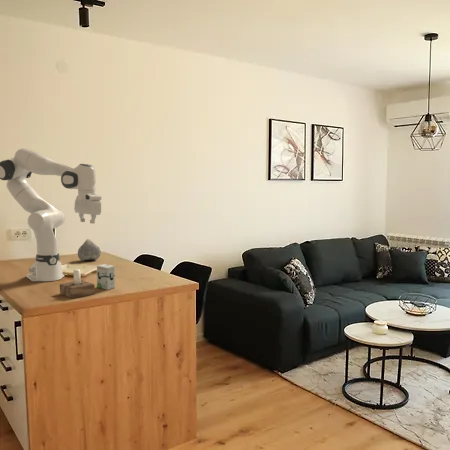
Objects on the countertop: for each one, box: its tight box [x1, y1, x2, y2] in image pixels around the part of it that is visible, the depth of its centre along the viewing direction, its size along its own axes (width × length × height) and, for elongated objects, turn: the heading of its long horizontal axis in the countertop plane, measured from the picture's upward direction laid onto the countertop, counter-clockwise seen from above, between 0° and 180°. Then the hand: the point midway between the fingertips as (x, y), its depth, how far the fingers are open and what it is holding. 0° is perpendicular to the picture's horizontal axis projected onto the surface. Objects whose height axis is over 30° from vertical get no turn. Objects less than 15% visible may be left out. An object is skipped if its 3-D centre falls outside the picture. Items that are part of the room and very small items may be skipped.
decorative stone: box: [77, 238, 102, 262], centre depth 312 cm, size 15×10×15 cm
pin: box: [73, 268, 82, 286], centre depth 227 cm, size 3×3×10 cm
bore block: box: [59, 279, 96, 299], centre depth 228 cm, size 12×12×5 cm
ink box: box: [96, 263, 116, 291], centre depth 240 cm, size 9×5×12 cm, turn 56°
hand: (87, 222), depth 237 cm, fingers open, 8 cm apart
